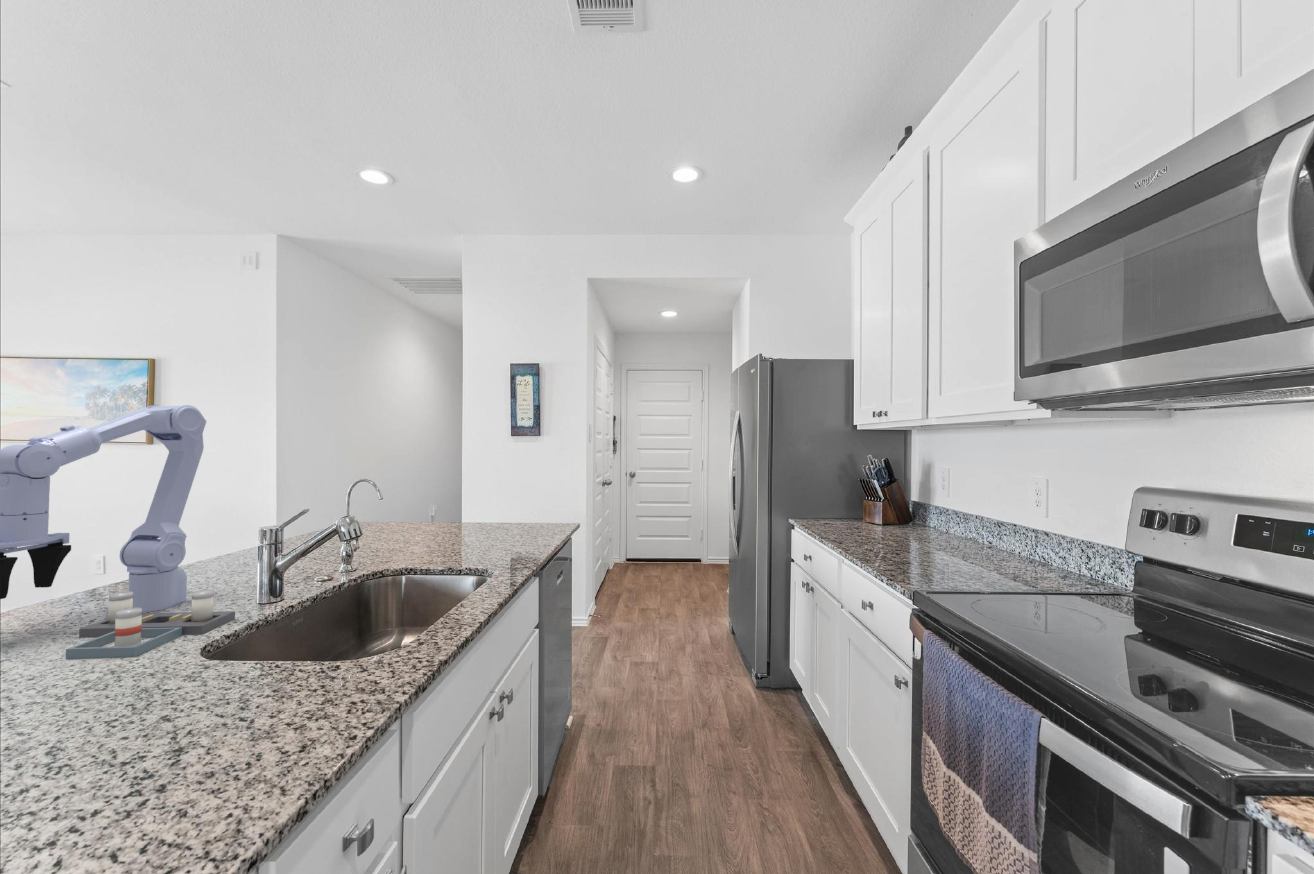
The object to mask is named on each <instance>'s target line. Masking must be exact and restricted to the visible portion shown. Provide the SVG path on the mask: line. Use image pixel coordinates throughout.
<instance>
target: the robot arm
mask: <svg viewBox="0 0 1314 874" xmlns="http://www.w3.org/2000/svg"><path fill="white" fill-rule="evenodd" d="M206 424H207V420H206V418H205V417H204V416H203V414H202V413H201V411H200V410H199V409H198V408H197V407H195V406H193V405H189V404H185V405H157V404H154V405H153V404H152V405H149V406H146V407H142V408H141V407H140V408H137V409H135V410H133V411H131V412H128V413H126V414H123V415H121V416H117V417H116V418H113V419H110V420H107V421H106V422H105V421H104V422H103V423H100V424H98V425H95V426H93V427H90V428H89V427H87V426H86V427H85V426H82V425H75V426H74V425H64V426H61V427H60V428H59V430H60V431H56V432H54V433H52V434H49V435H46V436H42V437H41V436H34V437H31V438H29V439H28V443H27V444H11V445H7V446H6V445H5V447H2V448H1V449H0V600H2V599H4V600H5V599H6V598H7V596H8V592H9V587H10V586H9V585H10V577H11V574H12V571H13V569H14V566H15V564H16V562H17V561H18V559H19V558H18V557H17V556H7V555H6V554H10V553H11V554H12V553H16V552H22V551H26V552H27V553H28V555H29V558H30V560H31V563H32V567H33V568H32V569H33V584H34V587H35V588H50V587H52V586H53V583H54V580H55V579H56V575H57V573H58V571H59V568H60V566H61V564H62V562H63V561H64V560H65V558H66V557H67V556H68V554H70V552H71V551H72V545H71V544H70V532H56V533H49V520H50V519H49V518H50V515H49V514H50V511H49V510H50V490H51V488H50V487H51V476H53V475H54V474H56V473H57V472H58V471H59V470H60V468H61V467H63V466H66V465H68V464H70V463H73V462H75V461H79V460H81V459H83V458H87V457H89V456H92V455H93V454H96V453H98V452H99V451H100V449H101V445H102V444H104V443H107V442H111V441H114V440H116V439H120V438H123V437H125V436H129V435H133V434H135V433H137V432H142V431H145V432H146V433H148V434H149V436H151V437H153V438H154V439H156V441H159V443H161V444H162V445H164V447H165V448H166V450H167V451H168V454H167V457H166V460H165V463H164V467H163V468H162V472H161V475H160V478H159V479H158V483H157V487H156V489H155V491H154V495H153V498H152V501H151V504H150V507H149V511H148V512H147V516H146V519H145V521H144V523H142V524H141V525H140V526H138V527H137V528H135V529H134V530H133V531H131V534H130V537H129V539H127V542H125V543H124V544H123V545H122V547H121V548H120V551H119V560H120V562H121V564H122V565H123V566H125V567H126V572H127V573H128V588H127V589H128V590H127V591H133V608H136V607H139V608H142V613H153V612H156V611H157V612H159V611H162V610H166V609H169V608H172V607H175V605H177V604H179V603H183V602H186V601H187V588H188V586H187V585H188V580H187V579H188V578H187V573H186V571H185V570H184V569H183V568H182V567H179V565H181V564H182V562H183V561H184V559H185V556H186V552H187V551H186V545H185V544H186V539H187V537H188V536H187V534H186V532H184V531H183V529H182V528H181V526H180V523H181V520H182V516H183V514H184V510H185V507H186V505H187V501H188V498H189V494H190V491H191V489H192V486H193V484H194V483H193V482H194V480H195V477H196V474H197V471H198V468H199V465H200V461H201V459H202V455H203V453H204V449H205V448H204V447H205V445H204V434H203V433H204V430H205V428H206Z"/></svg>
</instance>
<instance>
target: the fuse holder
mask: <svg viewBox="0 0 1314 874" xmlns="http://www.w3.org/2000/svg"><path fill="white" fill-rule="evenodd" d="M234 620H236V611H233V610H231V611H229V610H227V611H223V610H222V611H213V619H211V620H209V621H207V622H191V611H184V612H181V611H180V612H179V611H178V612H177V611H176V612H143V613H142V622H141V623H142V628H172V627H182V636H196V635H197V636H201V635H205V634H206V633H209V632H210V631H213V630H214V629H217V628H219V627H221V626H223V625H225V624H227V623H229V622H230V623H231V622H232V621H234ZM78 631H79V633H78V638H80V639H81V638H97V637H100V636H103V635H105V634H108V633H111V632H113V631H115V624H108V618H107V619H106V618H105V619H103V620H101V621H98V622H95V623H92V624H90V625H86V626H83V627H80V628H79V629H78Z"/></svg>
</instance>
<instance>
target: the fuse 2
mask: <svg viewBox="0 0 1314 874" xmlns="http://www.w3.org/2000/svg"><path fill="white" fill-rule="evenodd" d="M214 595H215V591H214V590H213V589H203V590H196V591H193V592H191V610H190V612H191V622H207V621H209V620H211V619H213V612H214V604H215V603H214V602H215V600H214V599H215V596H214Z"/></svg>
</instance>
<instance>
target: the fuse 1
mask: <svg viewBox="0 0 1314 874" xmlns="http://www.w3.org/2000/svg"><path fill="white" fill-rule="evenodd" d="M127 608H133V591H128V590H124V591H117V592H116V591H115V592H113V593H109V594H108V612H107V613H108V617H107V619H108V624H115V617H116V611H118V610H122V609H127Z"/></svg>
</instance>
